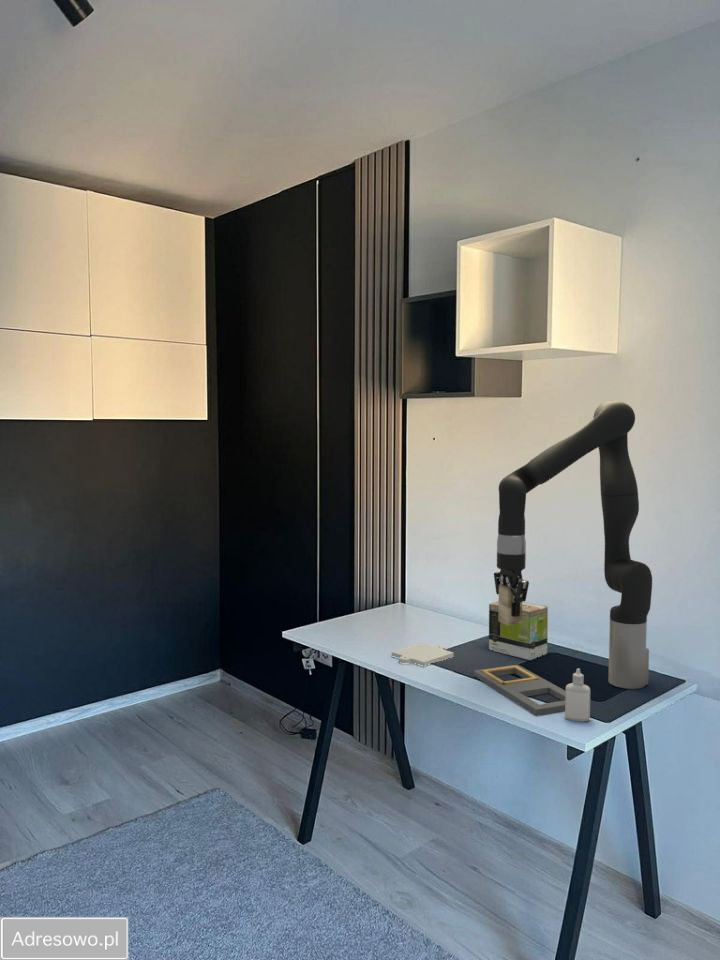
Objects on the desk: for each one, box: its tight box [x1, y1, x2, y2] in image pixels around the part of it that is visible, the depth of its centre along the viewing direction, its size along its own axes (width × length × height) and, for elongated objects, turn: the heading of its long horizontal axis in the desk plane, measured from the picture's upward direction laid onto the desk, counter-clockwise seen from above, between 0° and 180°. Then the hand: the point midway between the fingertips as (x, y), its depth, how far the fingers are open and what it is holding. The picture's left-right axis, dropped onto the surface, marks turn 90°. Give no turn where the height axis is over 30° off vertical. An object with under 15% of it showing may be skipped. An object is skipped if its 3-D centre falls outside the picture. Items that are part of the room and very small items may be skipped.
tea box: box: [488, 600, 549, 661], centre depth 226 cm, size 15×10×15 cm, turn 43°
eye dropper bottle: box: [564, 668, 591, 723], centre depth 175 cm, size 4×6×12 cm
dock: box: [473, 664, 566, 716], centre depth 193 cm, size 14×30×2 cm, turn 21°
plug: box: [498, 584, 522, 625], centre depth 199 cm, size 4×4×10 cm
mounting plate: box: [391, 642, 455, 666], centre depth 222 cm, size 18×13×2 cm
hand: (510, 613), depth 199 cm, fingers closed on plug, 4 cm apart
